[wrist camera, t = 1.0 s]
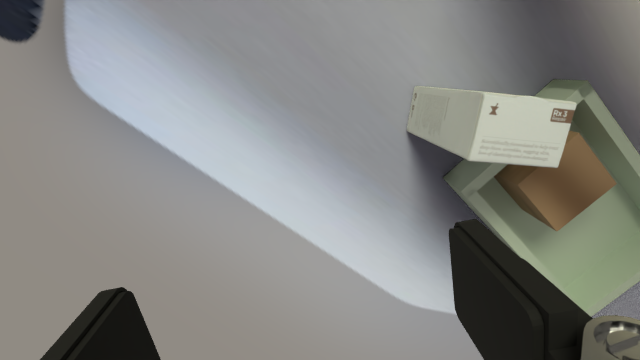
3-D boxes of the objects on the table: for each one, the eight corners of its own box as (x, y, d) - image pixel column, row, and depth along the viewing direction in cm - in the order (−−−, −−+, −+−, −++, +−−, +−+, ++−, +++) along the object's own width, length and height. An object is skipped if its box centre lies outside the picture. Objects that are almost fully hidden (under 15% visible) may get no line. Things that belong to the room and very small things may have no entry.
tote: (553, 79, 32) (587, 80, 28) (656, 220, 37) (697, 238, 33) (442, 177, 34) (460, 191, 31) (554, 299, 39) (581, 323, 36)
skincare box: (404, 132, 33) (462, 167, 21) (413, 82, 32) (479, 90, 20) (469, 138, 33) (558, 175, 22) (480, 89, 32) (582, 101, 21)
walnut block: (538, 123, 33) (579, 132, 28) (572, 167, 34) (616, 183, 30) (486, 168, 34) (517, 185, 29) (522, 209, 35) (556, 231, 31)
